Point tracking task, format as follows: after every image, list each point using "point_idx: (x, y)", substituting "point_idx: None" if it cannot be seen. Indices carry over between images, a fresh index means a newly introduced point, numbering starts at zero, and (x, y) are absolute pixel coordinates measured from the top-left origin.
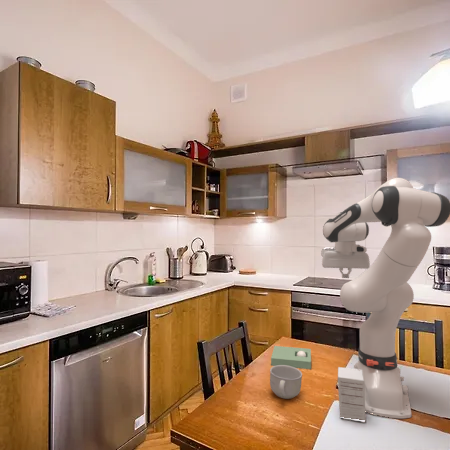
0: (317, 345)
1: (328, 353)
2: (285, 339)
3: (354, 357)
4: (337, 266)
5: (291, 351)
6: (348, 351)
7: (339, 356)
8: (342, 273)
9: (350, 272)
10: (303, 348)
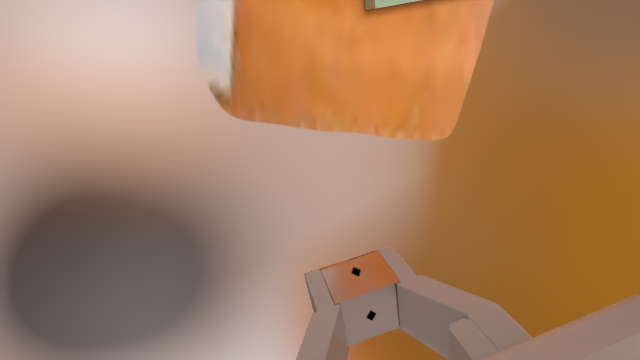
0: (352, 120)
1: (310, 59)
2: (449, 127)
3: (219, 59)
4: (634, 331)
5: None
6: (248, 110)
7: (271, 46)
8: (420, 285)
9: (301, 347)
10: (399, 1)
